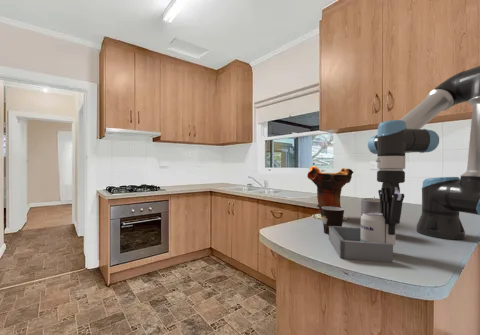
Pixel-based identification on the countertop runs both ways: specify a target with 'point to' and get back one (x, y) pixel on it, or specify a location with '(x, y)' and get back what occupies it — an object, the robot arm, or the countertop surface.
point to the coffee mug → (332, 217)
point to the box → (358, 245)
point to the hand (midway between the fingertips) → (389, 243)
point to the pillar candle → (370, 205)
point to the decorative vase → (329, 187)
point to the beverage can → (372, 227)
